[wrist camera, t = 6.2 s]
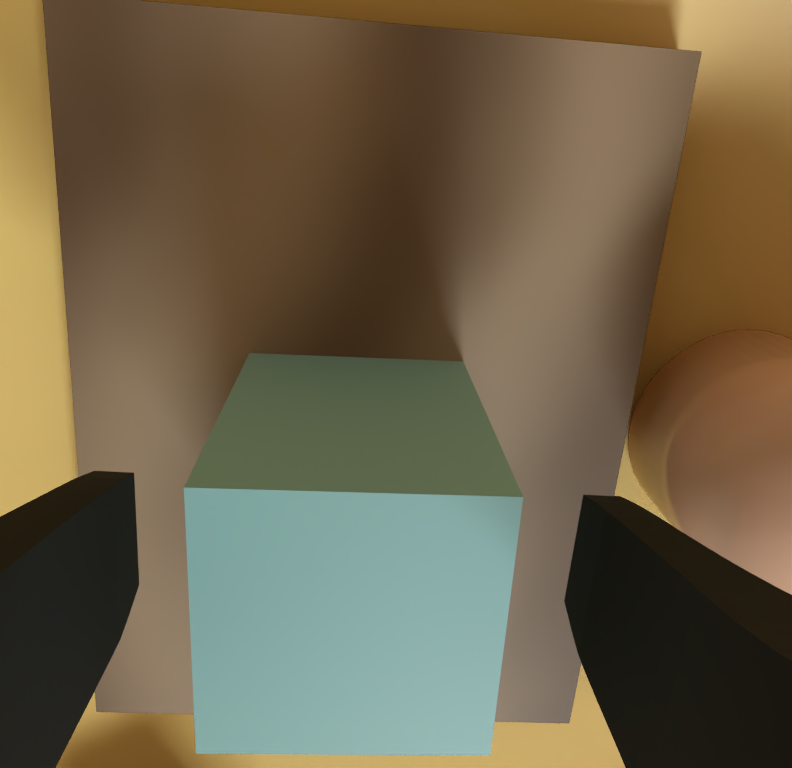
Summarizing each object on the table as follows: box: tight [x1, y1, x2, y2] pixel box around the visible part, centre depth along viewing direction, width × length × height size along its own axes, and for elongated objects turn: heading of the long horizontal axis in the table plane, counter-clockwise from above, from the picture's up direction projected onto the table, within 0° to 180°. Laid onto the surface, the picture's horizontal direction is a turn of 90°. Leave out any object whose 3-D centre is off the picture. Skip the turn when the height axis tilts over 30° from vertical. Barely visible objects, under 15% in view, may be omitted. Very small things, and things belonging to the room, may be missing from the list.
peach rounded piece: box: [628, 330, 792, 595], centre depth 15 cm, size 5×5×5 cm
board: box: [43, 0, 701, 723], centre depth 16 cm, size 12×16×1 cm
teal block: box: [184, 353, 523, 755], centre depth 13 cm, size 4×4×6 cm
